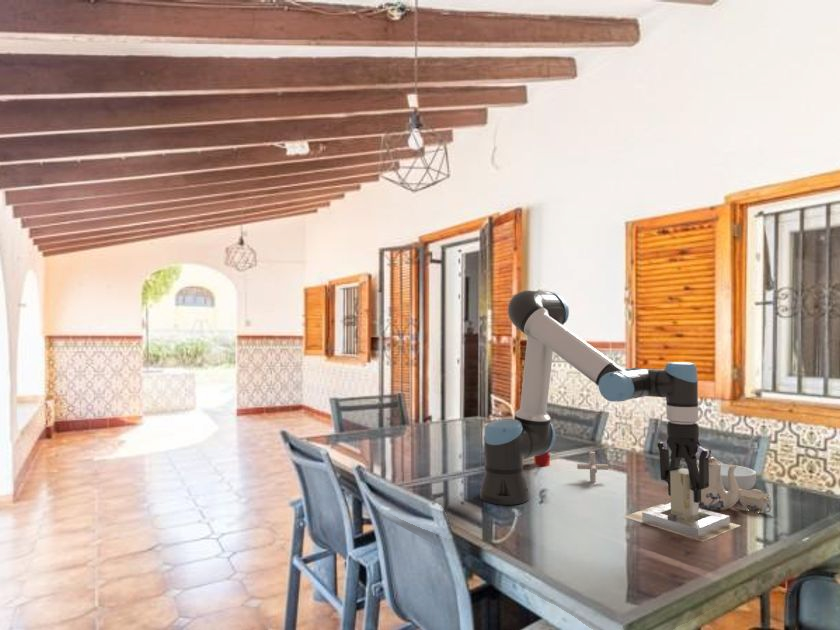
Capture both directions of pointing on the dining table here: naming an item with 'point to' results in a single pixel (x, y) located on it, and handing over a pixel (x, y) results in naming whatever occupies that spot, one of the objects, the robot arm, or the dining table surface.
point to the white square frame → (698, 529)
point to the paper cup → (542, 459)
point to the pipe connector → (592, 467)
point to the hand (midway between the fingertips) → (684, 511)
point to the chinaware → (729, 492)
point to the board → (638, 517)
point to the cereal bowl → (738, 477)
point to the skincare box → (681, 494)
